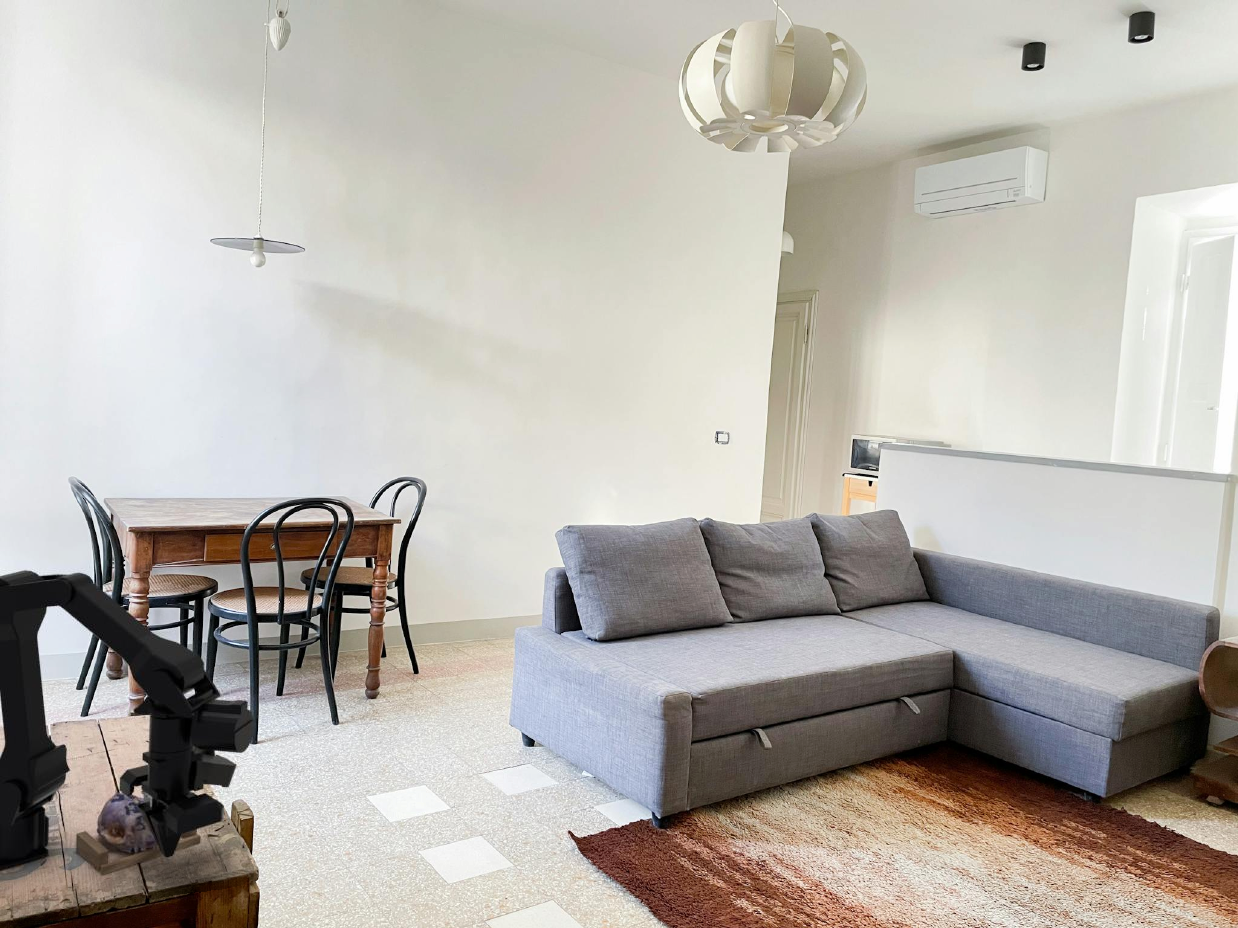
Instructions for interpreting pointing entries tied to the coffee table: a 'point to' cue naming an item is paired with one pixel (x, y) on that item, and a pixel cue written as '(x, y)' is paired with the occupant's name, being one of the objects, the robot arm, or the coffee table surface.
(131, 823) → the skull
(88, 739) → the coffee table surface
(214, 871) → the coffee table surface
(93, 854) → the rail notch
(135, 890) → the coffee table surface
